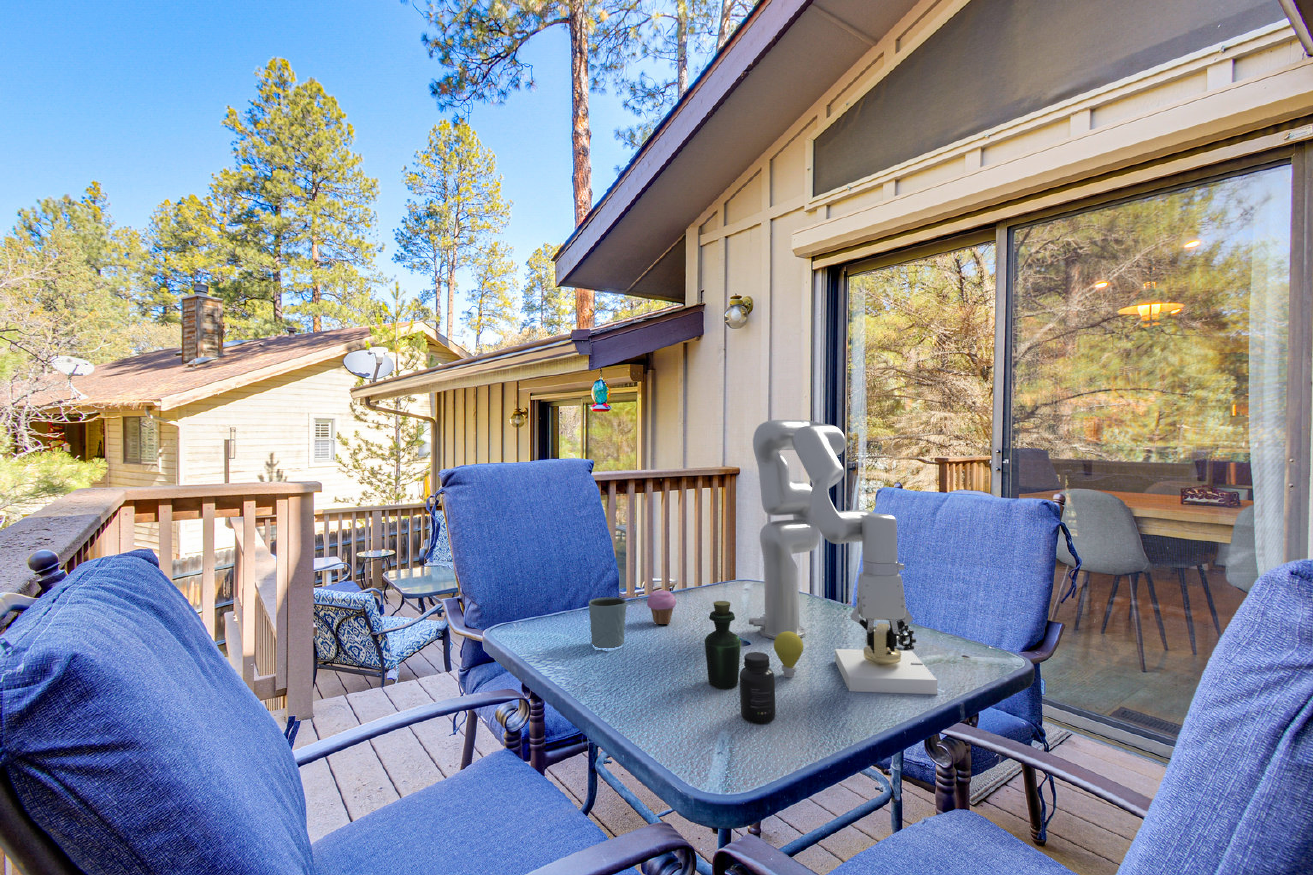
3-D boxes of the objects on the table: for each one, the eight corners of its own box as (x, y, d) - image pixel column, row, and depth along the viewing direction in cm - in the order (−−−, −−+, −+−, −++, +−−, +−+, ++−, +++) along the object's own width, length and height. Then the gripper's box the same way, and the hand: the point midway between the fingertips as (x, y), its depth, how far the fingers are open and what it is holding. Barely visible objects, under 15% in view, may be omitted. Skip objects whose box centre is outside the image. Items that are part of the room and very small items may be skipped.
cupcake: (676, 627, 176) (676, 593, 176) (647, 628, 176) (646, 594, 177) (676, 619, 185) (675, 586, 185) (647, 619, 185) (647, 586, 185)
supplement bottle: (737, 710, 121) (735, 650, 121) (770, 708, 122) (769, 648, 122) (744, 726, 114) (743, 662, 114) (780, 724, 115) (778, 661, 115)
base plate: (849, 691, 129) (849, 676, 129) (835, 661, 147) (835, 648, 147) (937, 694, 127) (937, 678, 127) (912, 663, 145) (911, 649, 145)
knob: (899, 671, 131) (899, 636, 132) (861, 666, 135) (860, 632, 135) (902, 654, 142) (902, 622, 142) (867, 650, 145) (866, 619, 145)
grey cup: (582, 649, 159) (581, 604, 159) (600, 638, 168) (599, 595, 168) (617, 654, 155) (616, 607, 155) (633, 642, 164) (632, 597, 164)
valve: (875, 659, 148) (916, 654, 152) (874, 632, 148) (916, 627, 152) (859, 650, 155) (899, 645, 158) (858, 625, 155) (898, 620, 158)
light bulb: (787, 683, 134) (786, 638, 134) (768, 673, 140) (767, 630, 140) (810, 677, 137) (809, 633, 138) (790, 667, 143) (790, 625, 143)
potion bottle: (697, 682, 136) (696, 602, 136) (723, 673, 140) (722, 596, 141) (722, 694, 129) (721, 610, 129) (749, 684, 134) (747, 603, 134)
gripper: (913, 565, 140) (915, 644, 140) (840, 564, 142) (841, 642, 142) (923, 572, 133) (925, 656, 132) (845, 571, 135) (847, 653, 135)
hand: (881, 648), depth 137 cm, fingers closed on knob, 3 cm apart
